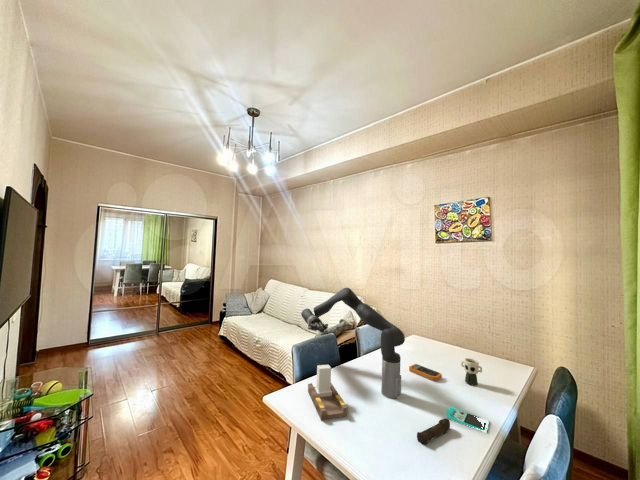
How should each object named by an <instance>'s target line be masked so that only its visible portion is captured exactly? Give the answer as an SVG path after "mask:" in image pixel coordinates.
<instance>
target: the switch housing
mask: <svg viewBox="0 0 640 480" xmlns="http://www.w3.org/2000/svg"><path fill="white" fill-rule="evenodd" d="M315 387H316V386H314V384H313V383H312V382H311V383H307V392H308V395H309V397H310V400H311V402H312V404H313V406H314V408H315V411H316V412H317V413H316V414H317V415H318V417H319V419H320V420H321V422H324V421H329V420H336V419H343V418H348V414H349V413H348V410H349V409H348V406H347V404H346V402H345V401H344V400H343V399H344V398H342V397H341V395H340V394H339V393H338V391H337V389H336V387H335V386H334V384H332V382H331V386H330V389H331V391H332V396H326V397H319V396H318V394H317V392H316V390H315Z"/></svg>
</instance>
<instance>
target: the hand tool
mask: <svg viewBox="0 0 640 480" xmlns="http://www.w3.org/2000/svg"><path fill="white" fill-rule="evenodd" d="M450 429H451V421H450V419H449V418H442V419H439V421H438V423H436V424H434V425H432V426H431V427H429V428H426V429H424V430H423V431H418V432H417V433H416V438H417V440H416V441H417V442H418V443H420V444H421V445H423V446H426V445H427V444H428V443H429V442H430V441H432V440H433V439H436V438H437V437H439V436H440V435H445V433H448V432H449V430H450Z"/></svg>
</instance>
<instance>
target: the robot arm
mask: <svg viewBox="0 0 640 480" xmlns="http://www.w3.org/2000/svg"><path fill="white" fill-rule="evenodd" d="M339 302H342V303H344V304H345V305H347V306H348V307H349V308H350V309H352V310H353V311H354V312H355V313H356V314H357V316H358V317H359V318H360V319H361V320H362V321H363V322H364V323H365V324H366V325H368V326H369V327H372V328H373V329H376V330H379V331H381V333H380V353H381V356H382V357H381V360H382V361H381V387H380V388H381V389H380V391H381V394H382V395H383V396H384V397H386V398H389V399H390V398H391V399H399V398H400V396H401V394H402V375H401V358H402V357H401V354H399V353H397V352H396V351H395V348H396V347H399V346H403V344H404V343H405V340H406V338H405V334H404V332H403V331H402V330H401V329H400V328H399V327H398V326H396V325H394V324H393V323H391V322H390V321H388V320H387V319H386V318H385V317H384V316H382V315H381V314H380V313H378V312H377V311H376V309H374V308H373V307H372V306H370V305H368V304H367V303H364V302H363V301H361V299H360V298H359V297H358V296H357V295H356V293H354V291H353V290H352V289H351V288H350V287H344V288H342V289H341V290H339V291H337V292H336V293H335V294H333V295H332V296H331V297H329V299H326V301H323V302H322V303H319V304H318V305H316V306H314V307H313V312H312V310H311V309H310V308H304V309H303V310H302V311H301V313H300V315H301V318H302V319H303V320H304V322H305V323H306V324H307V325H308V326H307V329H308V330H311V331H314V332H316V331H318V332H319V333H322V334H323V333H324V332H325V331H326V330H327V329H328V328H329V324H328V323H323V321H322V319H320V317H321V316H323V315H326V314H327V313H329V312H330V311H331V310H332V308H333V307H334V306H335V305H336V304H337V303H339Z"/></svg>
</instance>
